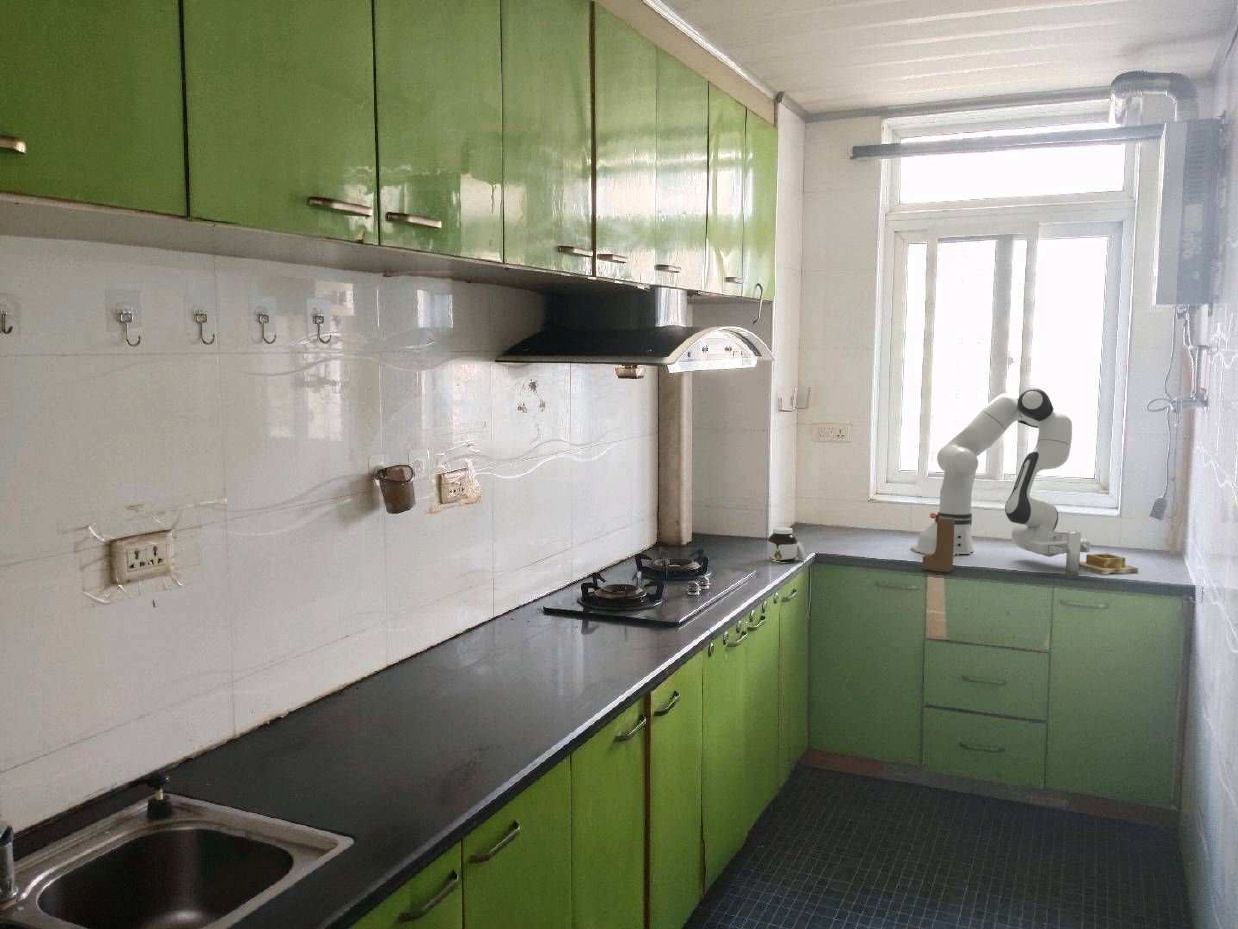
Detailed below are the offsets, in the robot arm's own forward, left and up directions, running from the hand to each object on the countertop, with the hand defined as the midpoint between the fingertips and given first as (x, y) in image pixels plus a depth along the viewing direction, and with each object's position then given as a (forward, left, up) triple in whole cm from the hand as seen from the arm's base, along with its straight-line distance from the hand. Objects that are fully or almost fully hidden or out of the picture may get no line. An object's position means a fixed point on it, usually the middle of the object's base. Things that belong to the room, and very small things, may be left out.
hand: (1075, 550), depth 328 cm
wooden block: (-40, +17, -8) cm, 44 cm away
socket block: (+16, +5, -8) cm, 19 cm away
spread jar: (-83, +43, -8) cm, 94 cm away
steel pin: (0, +1, -8) cm, 8 cm away
